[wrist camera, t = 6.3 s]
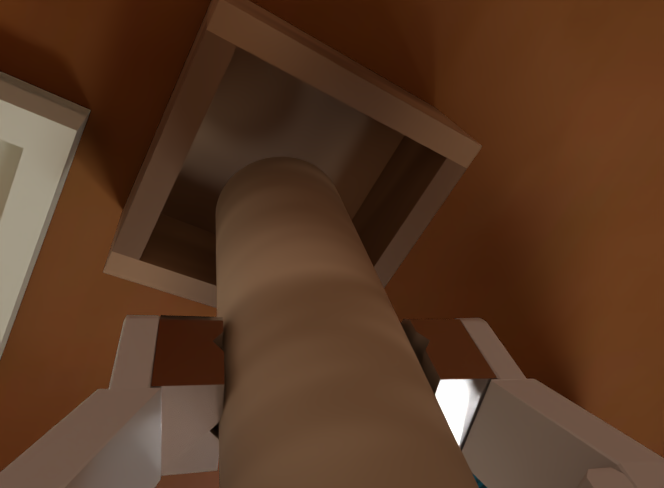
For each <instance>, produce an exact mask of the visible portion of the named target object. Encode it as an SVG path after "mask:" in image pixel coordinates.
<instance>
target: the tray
mask: <svg viewBox="0 0 664 488" xmlns="http://www.w3.org/2000/svg"><path fill="white" fill-rule="evenodd" d="M90 111H91V110H90V109H87V108H85V107H83V106H80V105H78V104H76V103H73V102H71V101H69V100H66V99H64V98H62V97H59V96H57V95H55V94H52V93H50V92H48V91H45V90H43V89H41V88H38V87H36V86H34V85H31V84H29V83H27V82H24V81H22V80H20V79H17V78H15V77H13V76H10V75H8V74H6V73H3V72H1V71H0V359H1V356H2V354H3V351H4V348H5V345H6V343H7V340H8V337H9V334H10V331H11V329H12V326H13V323H14V320H15V318H16V315H17V312H18V309H19V307H20V304H21V301H22V298H23V296H24V293H25V290H26V287H27V285H28V282H29V279H30V276H31V274H32V271H33V268H34V265H35V263H36V260H37V257H38V254H39V252H40V249H41V246H42V243H43V241H44V238H45V235H46V232H47V230H48V227H49V224H50V221H51V219H52V216H53V213H54V210H55V208H56V205H57V202H58V199H59V197H60V194H61V191H62V188H63V186H64V183H65V180H66V177H67V175H68V172H69V169H70V166H71V164H72V161H73V158H74V155H75V153H76V150H77V147H78V144H79V142H80V139H81V136H82V133H83V131H84V128H85V125H86V122H87V120H88V117H89V114H90Z"/></svg>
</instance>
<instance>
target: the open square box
mask: <svg viewBox="0 0 664 488" xmlns="http://www.w3.org/2000/svg"><path fill="white" fill-rule="evenodd" d="M481 148H482V145H480V144H479V143H478V142H477V141H476V140H474V139H473V138H472V137H471V136H469V135H468V134H467V133H466V132H465V131H463V130H462V129H461V128H460V127H458V126H457V125H456V124H455V123H454V122H452V121H451V120H450V119H449V118H447V117H446V116H445V115H444V114H443V113H441V112H440V111H439V110H438V109H437V108H435V107H433V106H432V105H430V104H428V103H427V102H425V101H423V100H421V99H420V98H418V97H416V96H414V95H413V94H411V93H409V92H407V91H406V90H404V89H402V88H400V87H399V86H397V85H395V84H394V83H392V82H390V81H388V80H387V79H385V78H383V77H381V76H380V75H378V74H376V73H374V72H373V71H371V70H369V69H367V68H366V67H364V66H362V65H361V64H359V63H357V62H355V61H354V60H352V59H350V58H348V57H347V56H345V55H343V54H341V53H340V52H338V51H336V50H334V49H333V48H331V47H329V46H328V45H326V44H324V43H322V42H321V41H319V40H317V39H315V38H314V37H312V36H310V35H308V34H307V33H305V32H303V31H301V30H300V29H298V28H296V27H295V26H293V25H291V24H289V23H288V22H286V21H284V20H282V19H281V18H279V17H277V16H275V15H274V14H272V13H270V12H268V11H267V10H265V9H263V8H262V7H260V6H258V5H256V4H255V3H253V2H251V1H249V0H211V2H210V5H209V7H208V9H207V12H206V14H205V16H204V19H203V21H202V24H201V26H200V28H199V31H198V33H197V35H196V38H195V40H194V42H193V45H192V47H191V50H190V52H189V54H188V57H187V59H186V61H185V64H184V66H183V69H182V71H181V73H180V76H179V78H178V80H177V83H176V85H175V88H174V90H173V92H172V95H171V97H170V99H169V102H168V104H167V106H166V109H165V111H164V114H163V116H162V118H161V121H160V123H159V125H158V128H157V130H156V133H155V135H154V137H153V140H152V142H151V144H150V147H149V149H148V152H147V154H146V156H145V159H144V161H143V163H142V166H141V168H140V171H139V173H138V175H137V178H136V180H135V182H134V185H133V187H132V189H131V192H130V194H129V197H128V199H127V201H126V204H125V206H124V208H123V211H122V214H121V217H120V220H119V223H118V226H117V229H116V233H115V236H114V239H113V242H112V245H111V248H110V251H109V254H108V258H107V261H106V264H105V267H104V270H103V273H106V274H109V275H113V276H116V277H119V278H122V279H125V280H129V281H132V282H135V283H138V284H141V285H145V286H148V287H151V288H154V289H157V290H161V291H164V292H167V293H170V294H173V295H177V296H180V297H183V298H186V299H189V300H193V301H196V302H199V303H202V304H205V305H209V306H212V307H215V308H217V283H216V217H215V214H216V206H217V201H218V198H219V196H220V193H221V191H222V189H223V188H224V186H225V185H226V183H227V182H228V181H229V179H230V178H231V177H232V176H233V175H234V174H235V173H237V172H238V171H239V170H241V169H242V168H243V167H245V166H247V165H249V164H251V163H253V162H255V161H258V160H261V159H265V158H270V157H293V158H297V159H301V160H304V161H307V162H309V163H311V164H313V165H315V166H316V167H318V168H319V169H321V170H322V171H323V172H324V173H325V174H326V175H327V176H328V177H329V178H330V179H331V181H332V182H333V184H334V185H335V187H336V189H337V191H338V193H339V195H340V197H341V200H342V202H343V204H344V206H345V208H346V210H347V212H348V214H349V216H350V218H351V220H352V223H353V225H354V227H355V229H356V231H357V233H358V235H359V237H360V239H361V241H362V244H363V246H364V248H365V250H366V252H367V254H368V256H369V258H370V260H371V262H372V264H373V267H374V269H375V271H376V273H377V275H378V277H379V279H380V281H381V283H382V285H383V288H385V286H386V285H387V283H388V282H389V280H390V279H391V278H392V276H393V275H394V273H395V272H396V270H397V269H398V267H399V266H400V265H401V263H402V262H403V260H404V259H405V257H406V256H407V254H408V253H409V252H410V250H411V249H412V247H413V246H414V244H415V243H416V241H417V240H418V239H419V237H420V236H421V234H422V233H423V231H424V230H425V228H426V227H427V226H428V224H429V223H430V221H431V220H432V218H433V217H434V215H435V214H436V213H437V211H438V210H439V208H440V207H441V205H442V204H443V202H444V201H445V200H446V198H447V197H448V195H449V194H450V192H451V191H452V189H453V188H454V187H455V185H456V184H457V182H458V181H459V179H460V178H461V176H462V175H463V174H464V172H465V171H466V169H467V168H468V166H469V165H470V163H471V162H472V161H473V159H474V158H475V156H476V155H477V153H478V152H479V150H480V149H481Z"/></svg>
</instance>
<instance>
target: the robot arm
mask: <svg viewBox="0 0 664 488" xmlns="http://www.w3.org/2000/svg"><path fill="white" fill-rule="evenodd" d="M401 325H402V327H403V329H404V332H405V334H406V336H407V338H408V340H409V342H410V344H411V346H412V348H413V350H414V352H415V355H416V357H417V359H418V361H419V363H420V365H421V367H422V369H423V371H424V373H425V375H426V378H427V380H428V382H429V384H430V386H431V388H432V390H433V392H434V394H435V396H436V399H437V401H438V403H439V405H440V407H441V409H442V411H443V413H444V415H445V417H446V419H447V422H448V424H449V426H450V428H451V430H452V432H453V434H454V436H455V438H456V440H457V443H458V445H459V447H460V449H461V451H462V453H463V455H464V457H465V459H466V461H467V463H468V466H469V468H470V470H471V472H472V473H473V474H474V475H475V476H476V477H477V478H478V479H479V480H480V481H481V482H482V483H483V484H484V485H485V486H486V487H487V488H664V458H663V457H661V456H659V455H658V454H656V453H655V452H653V451H651V450H650V449H648V448H646V447H645V446H643V445H642V444H640V443H638V442H637V441H635V440H633V439H632V438H630V437H629V436H627V435H625V434H624V433H622V432H620V431H619V430H617V429H616V428H614V427H612V426H611V425H609V424H607V423H606V422H604V421H603V420H601V419H599V418H598V417H596V416H594V415H593V414H591V413H589V412H588V411H586V410H585V409H583V408H581V407H580V406H578V405H576V404H575V403H573V402H572V401H570V400H568V399H567V398H565V397H563V396H562V395H560V394H559V393H557V392H555V391H554V390H552V389H550V388H549V387H547V386H546V385H544V384H542V383H541V382H539V381H537V380H536V379H527V378H526V377H525V376H524V374H523V373H522V371H521V370H520V369H519V367H518V366H517V364H516V363H515V361H514V360H513V359H512V357H511V356H510V354H509V353H508V352H507V350H506V349H505V347H504V346H503V344H502V343H501V342H500V340H499V339H498V337H497V336H496V335H495V333H494V332H493V330H492V329H491V327H490V326H489V325H488V323H487V322H486V321H485V320H483V319H481V318H455V319H403V321H402V322H401ZM222 345H223V317H201V316H166V315H161V316H158V315H127V316H126V318H125V319H124V322H123V326H122V331H121V335H120V340H119V344H118V349H117V353H116V357H115V362H114V366H113V371H112V375H111V380H110V384H109V389H97V390H96V391H95V392H94V393H93V394H92V395H90V396H89V397H88V398H87V399H86V400H85V401H83V402H82V403H81V404H80V405H79V406H78V407H76V408H75V409H74V410H73V411H72V412H70V413H69V414H68V415H67V416H66V417H65V418H63V419H62V420H61V421H60V422H59V423H58V424H56V425H55V426H54V427H53V428H52V429H51V430H49V431H48V432H47V433H46V434H45V435H43V436H42V437H41V438H40V439H39V440H38V441H36V442H35V443H34V444H33V445H32V446H31V447H29V448H28V449H27V450H26V451H25V452H23V453H22V454H21V455H20V456H19V457H18V458H16V459H15V460H14V461H13V462H12V463H11V464H9V465H8V466H7V467H6V468H5V469H4V470H2V471H1V472H0V488H155V487H156V485H157V484H158V482H159V481H160V480H161V476H164V475H175V474H186V473H197V472H208V471H217V469H218V459H219V421H220V420H221V417H222V413H223V399H224V385H225V382H224V351H223V350H222Z"/></svg>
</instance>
